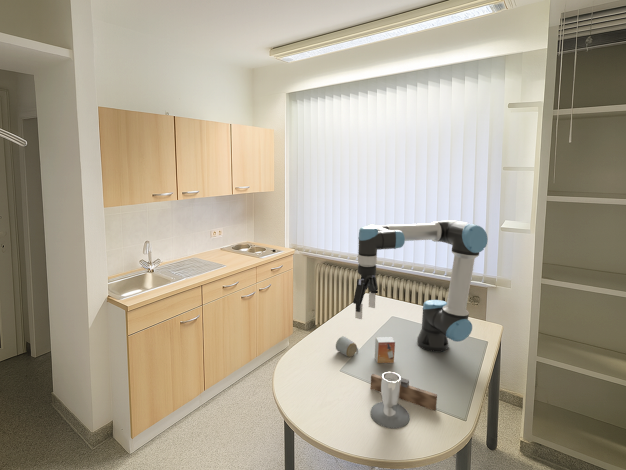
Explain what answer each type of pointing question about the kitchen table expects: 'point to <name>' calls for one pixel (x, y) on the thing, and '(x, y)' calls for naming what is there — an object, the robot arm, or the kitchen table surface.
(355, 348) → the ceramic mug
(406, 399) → the board
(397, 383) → the beer glass
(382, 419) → the round pad
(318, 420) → the kitchen table surface
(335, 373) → the kitchen table surface
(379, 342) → the small box
